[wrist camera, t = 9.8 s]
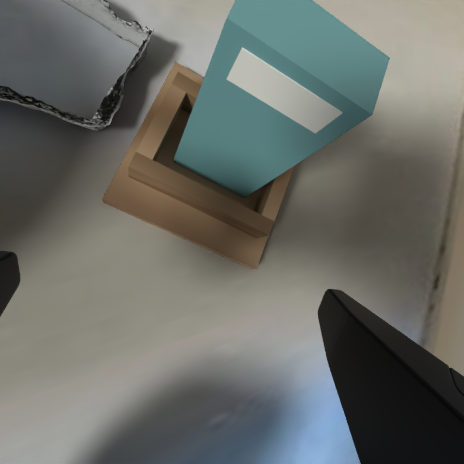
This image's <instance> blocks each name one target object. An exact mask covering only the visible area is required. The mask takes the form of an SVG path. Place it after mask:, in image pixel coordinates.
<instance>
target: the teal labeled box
mask: <svg viewBox="0 0 464 464" xmlns="http://www.w3.org/2000/svg"><path fill="white" fill-rule="evenodd" d="M389 59H390V58H389V57H388V56H387V55H385V54H384V53H383V52H381V51H380V50H378V49H377V48H376V47H374V46H373V45H372V44H370V43H369V42H368V41H366V40H365V39H364V38H362V37H361V36H360V35H358V34H357V33H356V32H354V31H353V30H351V29H350V28H349V27H347V26H346V25H345V24H343V23H342V22H341V21H339V20H338V19H337V18H335V17H334V16H333V15H331V14H330V13H329V12H327V11H326V10H325V9H323V8H322V7H320V6H319V5H318V4H316V3H315V2H314V1H312V0H236V1H235V3H234V5H233V7H232V9H231V11H230V13H229V15H228V17H227V19H226V22H225V24H224V27H223V30H222V32H221V35H220V38H219V40H218V43H217V45H216V48H215V51H214V53H213V56H212V59H211V61H210V64H209V67H208V69H207V72H206V75H205V77H204V80H203V83H202V85H201V88H200V91H199V93H198V96H197V99H196V101H195V104H194V106H193V109H192V112H191V114H190V117H189V120H188V122H187V125H186V128H185V130H184V133H183V136H182V138H181V141H180V144H179V146H178V149H177V152H176V154H175V157H174V160H173V162H175V163H177V164H178V165H180V166H182V167H184V168H186V169H188V170H190V171H192V172H194V173H196V174H198V175H200V176H202V177H204V178H206V179H208V180H210V181H212V182H214V183H216V184H218V185H220V186H222V187H224V188H226V189H227V190H229V191H231V192H233V193H235V194H237V195H239V196H241V197H243V198H245V197H247V196H248V195H250V194H251V193H253V192H254V191H256V190H257V189H259V188H260V187H262V186H264V185H265V184H267V183H268V182H270V181H271V180H273V179H274V178H276V177H277V176H279V175H280V174H282V173H284V172H285V171H287V170H288V169H290V168H291V167H293V166H294V165H296V164H297V163H299V162H300V161H302V160H304V159H305V158H307V157H308V156H310V155H311V154H313V153H314V152H316V151H317V150H319V149H320V148H322V147H324V146H325V145H327V144H328V143H330V142H331V141H333V140H334V139H336V138H337V137H339V136H340V135H342V134H344V133H345V132H347V131H348V130H350V129H351V128H353V127H354V126H356V125H357V124H359V123H360V122H362V121H364V120H365V119H367V118H368V117H370V116H371V115H372V114H373V111H374V107H375V104H376V101H377V98H378V94H379V91H380V88H381V85H382V81H383V78H384V75H385V72H386V68H387V65H388V62H389Z"/></svg>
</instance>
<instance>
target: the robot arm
mask: <svg viewBox="0 0 464 464" xmlns="http://www.w3.org/2000/svg"><path fill="white" fill-rule="evenodd" d="M19 283H20V272H19V265H18V259H17V255H16V254H15V253H14V252H8V251H0V316H1V315H2V313H3V311H4V310H5V308H6V306H7V304H8V303H9V301H10V299H11V298H12V296H13V294H14V293H15V291H16V289H17V287H18V286H19ZM318 319H319V324H320V328H321V333H322V338H323V343H324V347H325V352H326V357H327V361H328V364H329V367H330V371H331V374H332V377H333V380H334V383H335V386H336V389H337V392H338V395H339V398H340V401H341V405H342V408H343V411H344V414H345V417H346V420H347V423H348V426H349V429H350V432H351V435H352V438H353V442H354V445H355V448H356V451H357V454H358V457H359V460H360V463H361V464H464V376H462V375H461V374H459V373H458V372H457V371H455V370H454V369H452V368H449V366H448V365H447V364H445V363H444V362H442V361H441V360H439V359H438V358H437V357H435V356H434V355H432V354H431V353H429V352H428V351H427V350H425V349H424V348H422V347H421V346H419V345H418V344H417V343H415V342H414V341H412V340H411V339H410V338H408V337H407V336H405V335H404V334H402V333H401V332H400V331H398V330H397V329H395V328H394V327H392V326H391V325H390V324H388V323H387V322H385V321H384V320H382V319H381V318H380V317H378V316H377V315H375V314H374V313H372V312H371V311H370V310H368V309H367V308H365V307H364V306H363V305H361V304H360V303H358V302H357V301H355V300H354V299H353V298H351V297H350V296H348V295H347V294H345V293H344V292H343V291H341V290H335V289H328V290H326V292H325V294H324V296H323V299H322V301H321V304H320V306H319V309H318Z"/></svg>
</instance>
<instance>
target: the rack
mask: <svg viewBox="0 0 464 464" xmlns="http://www.w3.org/2000/svg"><path fill="white" fill-rule="evenodd" d="M203 80H204V78H202V77H200V76H199V75H197V74H195V73H194V72H192V71H190V70H189V69H187V68H185V67H184V66H182V65H180V64H179V63H177V62H175V63H174V65H173V67H172V69H171V71H170V73H169V75H168V77H167V78H166V80H165V82H164V84H163V86H162V88H161V90H160V92H159V93H158V95H157V97H156V99H155V101H154V103H153V105H152V107H151V108H150V110H149V112H148V114H147V116H146V118H145V120H144V122H143V124H142V125H141V127H140V129H139V131H138V133H137V135H136V137H135V139H134V140H133V142H132V144H131V146H130V148H129V150H128V152H127V154H126V155H125V157H124V159H123V161H122V163H121V165H120V167H119V169H118V170H117V172H116V174H115V176H114V178H113V180H112V182H111V184H110V185H109V187H108V189H107V191H106V193H105V195H104V197H103V199H102V200H103V202H104V203H105V204H108V205H110V206H112V207H114V208H117V209H119V210H121V211H123V212H126V213H128V214H130V215H132V216H134V217H137V218H139V219H141V220H143V221H146V222H148V223H150V224H152V225H155V226H157V227H159V228H161V229H163V230H166V231H168V232H170V233H172V234H175V235H177V236H179V237H181V238H184V239H186V240H188V241H190V242H192V243H195V244H197V245H199V246H201V247H204V248H206V249H208V250H210V251H213V252H215V253H217V254H219V255H221V256H224V257H226V258H228V259H230V260H233V261H235V262H237V263H239V264H242V265H244V266H246V267H248V268H250V269H257V266H258V264H259V261H260V258H261V256H262V253H263V250H264V247H265V245H266V242H267V239H268V236H269V235H270V232H271V230H272V227H273V224H274V222H275V219H276V216H277V213H278V211H279V208H280V205H281V202H282V200H283V197H284V194H285V191H286V189H287V186H288V183H289V181H290V178H291V175H292V172H293V170H294V167H295V165H294V166H293V167H291V168H290V169H288V170H287V171H285V172H284V173H282V174H280V175H279V176H277V177H276V178H274V179H273V180H271V181H270V182H268V183H267V184H265V185H264V186H262V187H260V188H259V189H257V190H256V191H254V192H253V193H251V194H250V195H248V196H247V197H245V198H243V197H241V196H239V195H237V194H235V193H233V192H231V191H229V190H227V189H226V188H224V187H222V186H220V185H218V184H216V183H214V182H212V181H210V180H208V179H206V178H204V177H202V176H200V175H198V174H196V173H194V172H192V171H190V170H188V169H186V168H184V167H182V166H180V165H178V164H177V163H175V162H173V160H174V157H175V154H176V152H177V149H178V146H179V144H180V141H181V138H182V136H183V133H184V130H185V128H186V125H187V122H188V120H189V117H190V114H191V112H192V109H193V106H194V104H195V101H196V99H197V96H198V93H199V91H200V88H201V85H202V83H203Z"/></svg>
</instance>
